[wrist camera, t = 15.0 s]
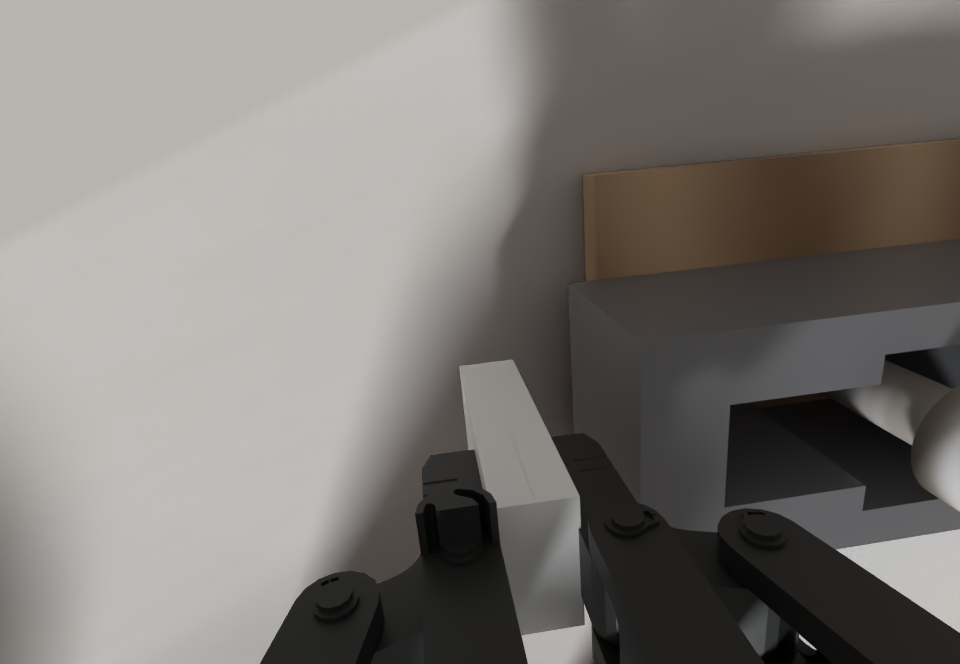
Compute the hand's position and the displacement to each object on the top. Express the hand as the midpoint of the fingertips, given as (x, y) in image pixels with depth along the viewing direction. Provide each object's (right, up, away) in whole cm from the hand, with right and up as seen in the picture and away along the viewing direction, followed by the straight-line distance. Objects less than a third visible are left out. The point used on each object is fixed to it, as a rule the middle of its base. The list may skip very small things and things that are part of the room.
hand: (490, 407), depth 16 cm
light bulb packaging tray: (+13, +2, +3) cm, 14 cm away
